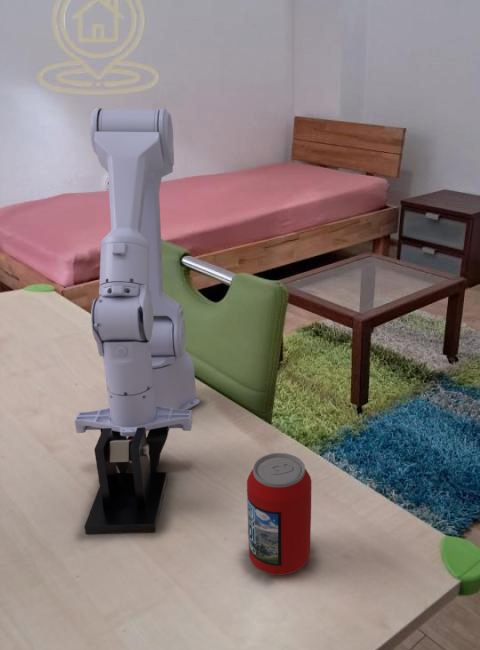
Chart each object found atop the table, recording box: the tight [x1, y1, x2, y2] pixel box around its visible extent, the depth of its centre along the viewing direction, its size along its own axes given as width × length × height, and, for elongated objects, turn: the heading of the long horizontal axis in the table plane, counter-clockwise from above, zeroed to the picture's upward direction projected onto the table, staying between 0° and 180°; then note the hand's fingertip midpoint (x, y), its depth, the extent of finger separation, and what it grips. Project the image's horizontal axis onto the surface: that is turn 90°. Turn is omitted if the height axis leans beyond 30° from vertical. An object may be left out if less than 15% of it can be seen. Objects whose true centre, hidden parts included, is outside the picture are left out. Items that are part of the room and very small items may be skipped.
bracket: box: [84, 428, 168, 535], centre depth 76 cm, size 10×8×10 cm
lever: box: [110, 436, 147, 462], centre depth 79 cm, size 12×3×3 cm
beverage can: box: [246, 452, 312, 576], centre depth 67 cm, size 7×7×12 cm
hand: (140, 474), depth 85 cm, fingers closed on lever, 3 cm apart
